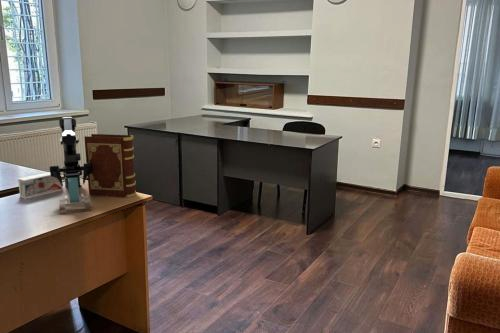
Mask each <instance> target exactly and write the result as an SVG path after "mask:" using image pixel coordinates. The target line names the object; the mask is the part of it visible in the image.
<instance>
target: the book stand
mask: <svg viewBox="0 0 500 333" xmlns="http://www.w3.org/2000/svg"><path fill="white" fill-rule="evenodd" d="M58 207H59V208H58V209H59V210H58V213H59V215H67V214H75V213H83V212H91V211H92V207H91V201H90V196H84V193H80V197H79V202H73V203H70V198H68V194H67V195H64V199H59V206H58Z"/></svg>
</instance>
